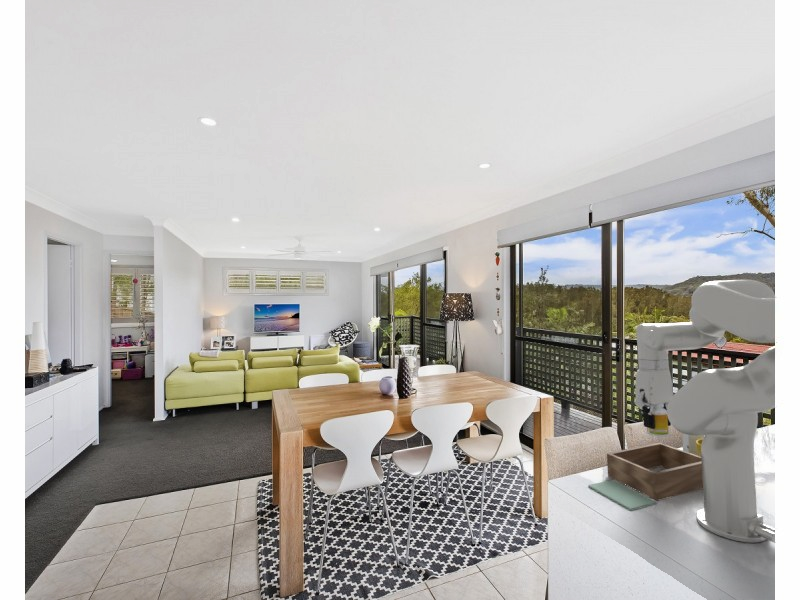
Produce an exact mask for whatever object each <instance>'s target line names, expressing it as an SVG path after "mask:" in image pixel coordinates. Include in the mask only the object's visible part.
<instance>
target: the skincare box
mask: <svg viewBox="0 0 800 600" xmlns="http://www.w3.org/2000/svg"><path fill="white" fill-rule="evenodd" d="M704 436H705V435H688V434H684V433H682V450H683V451H686V452H689V453H691V454H694V455H697V456H700V455H699V454H698V453H697V450H696V441H697V440H698V439H703V438H704Z"/></svg>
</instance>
